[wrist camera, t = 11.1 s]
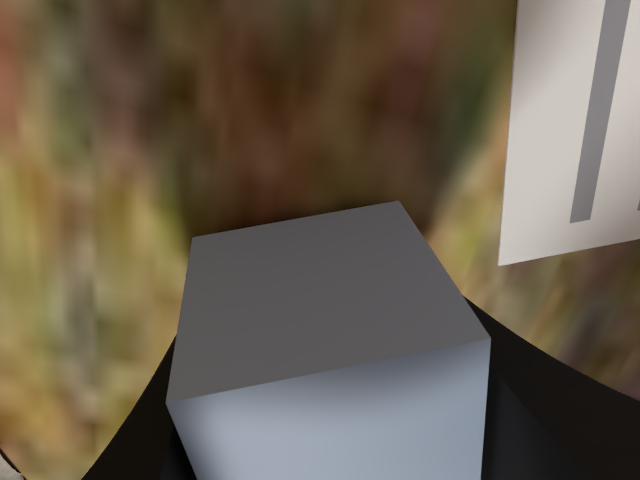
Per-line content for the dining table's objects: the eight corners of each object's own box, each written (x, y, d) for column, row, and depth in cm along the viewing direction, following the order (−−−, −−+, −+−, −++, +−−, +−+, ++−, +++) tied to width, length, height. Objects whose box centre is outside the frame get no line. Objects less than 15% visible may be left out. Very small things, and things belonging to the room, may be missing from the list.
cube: (405, 352, 14) (477, 519, 10) (236, 385, 14) (236, 573, 10) (399, 200, 12) (491, 338, 8) (192, 237, 11) (165, 403, 7)
